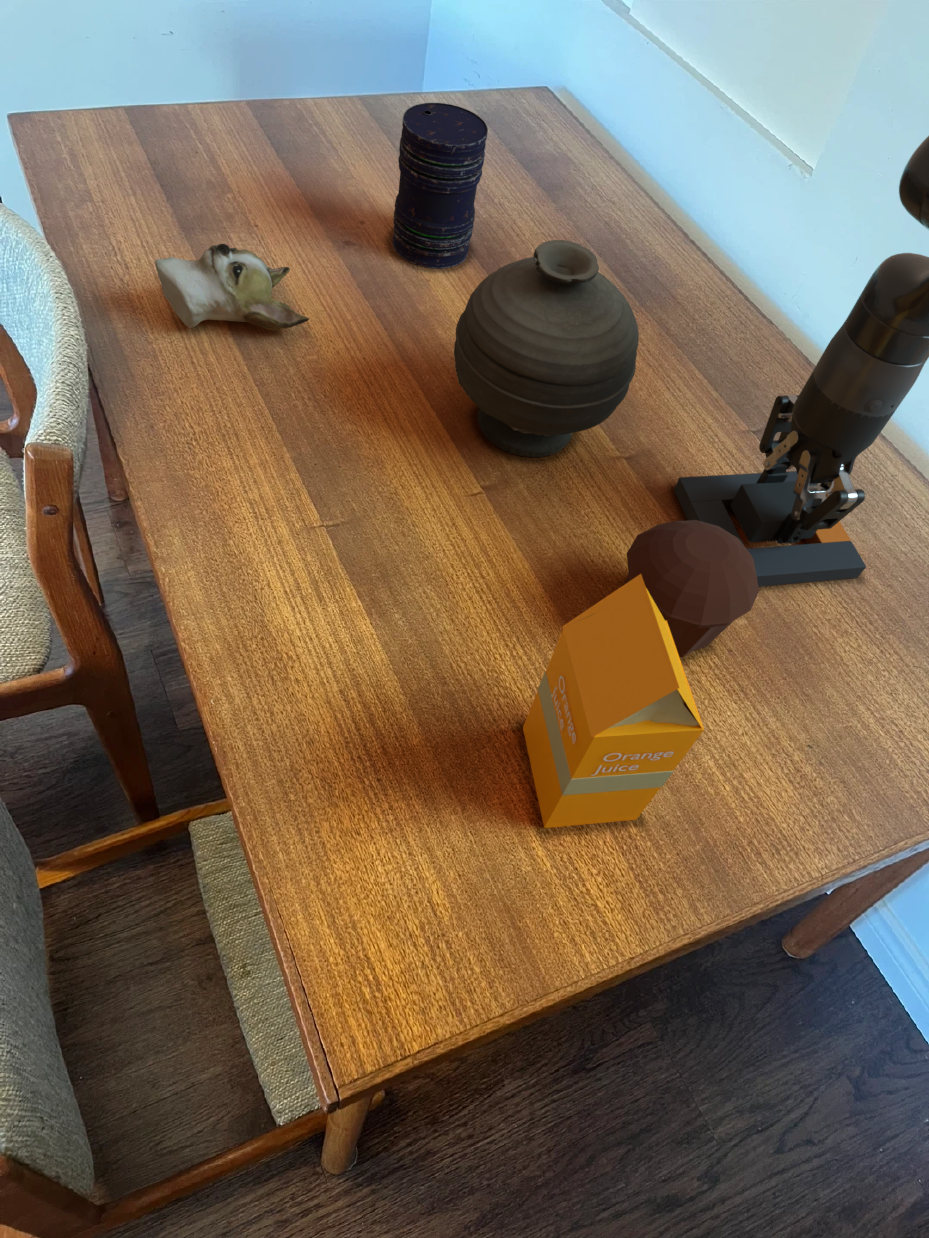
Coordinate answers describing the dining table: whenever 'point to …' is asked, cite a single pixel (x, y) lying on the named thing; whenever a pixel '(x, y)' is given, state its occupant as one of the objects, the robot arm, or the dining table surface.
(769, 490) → the black block
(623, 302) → the pot
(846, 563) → the socket pad
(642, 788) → the orange juice
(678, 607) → the muffin
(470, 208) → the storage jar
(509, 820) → the dining table surface
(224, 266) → the ceramic sculpture
